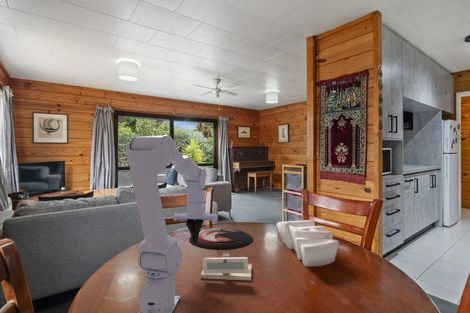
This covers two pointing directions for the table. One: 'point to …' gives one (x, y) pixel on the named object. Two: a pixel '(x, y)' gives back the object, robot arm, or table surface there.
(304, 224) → the white wavy slab sculpture
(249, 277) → the easel stand
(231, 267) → the frame
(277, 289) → the table surface
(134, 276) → the table surface
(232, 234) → the wall clock
